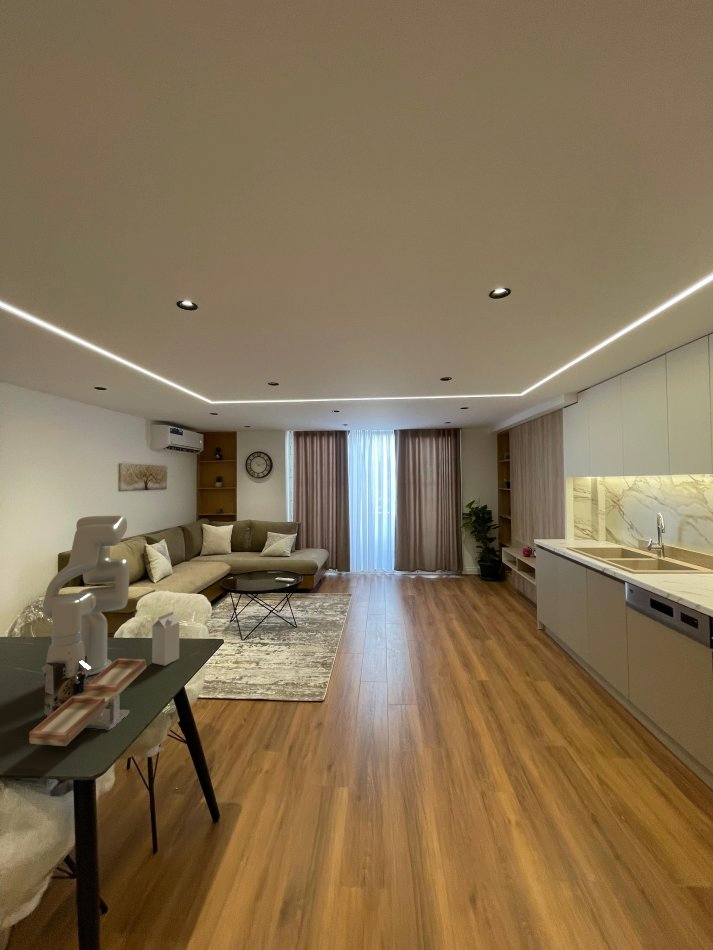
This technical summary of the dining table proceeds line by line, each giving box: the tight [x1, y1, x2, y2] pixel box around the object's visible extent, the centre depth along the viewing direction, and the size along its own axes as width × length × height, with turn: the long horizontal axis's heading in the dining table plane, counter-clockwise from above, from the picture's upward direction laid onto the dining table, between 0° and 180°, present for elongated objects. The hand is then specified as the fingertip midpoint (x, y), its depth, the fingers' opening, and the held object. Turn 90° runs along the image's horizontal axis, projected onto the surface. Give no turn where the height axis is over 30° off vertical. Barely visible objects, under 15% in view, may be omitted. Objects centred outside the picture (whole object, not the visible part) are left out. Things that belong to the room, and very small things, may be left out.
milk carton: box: [151, 611, 180, 667], centre depth 154 cm, size 7×7×19 cm
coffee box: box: [43, 656, 87, 717], centre depth 120 cm, size 9×6×16 cm
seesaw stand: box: [75, 693, 130, 731], centre depth 115 cm, size 16×8×7 cm, turn 83°
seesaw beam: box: [28, 657, 147, 747], centre depth 114 cm, size 11×32×4 cm, turn 173°
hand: (66, 693), depth 120 cm, fingers closed on coffee box, 8 cm apart
